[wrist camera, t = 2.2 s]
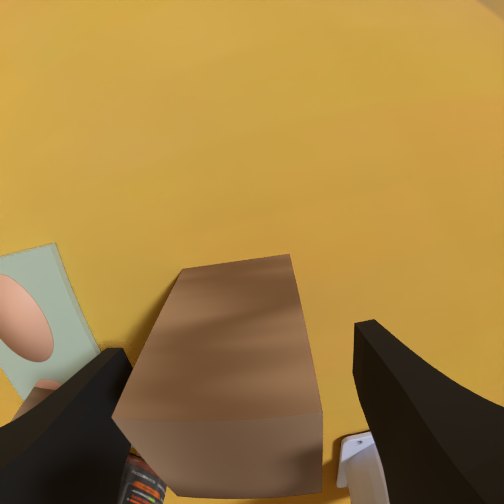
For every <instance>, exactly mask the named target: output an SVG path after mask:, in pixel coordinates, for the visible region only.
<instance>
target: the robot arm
mask: <svg viewBox="0 0 504 504" xmlns="http://www.w3.org/2000/svg"><path fill="white" fill-rule="evenodd" d="M132 370H133V368H132V366H131V364H130V362H129V360H128V358H127V356H126V354H125V352H124V350H123V348H107V349H105V350H104V351H102V352H101V353H100V354H98V355H97V356H96V357H95V358H93V359H92V360H91V361H90V362H89V363H87V364H86V365H85V366H84V367H83V368H81V369H80V370H79V371H78V372H77V373H76V374H74V375H73V376H72V377H71V378H70V379H69V380H67V381H66V382H65V383H64V384H63V385H61V386H60V387H59V388H58V389H56V390H55V391H54V392H53V393H51V394H50V395H49V396H48V397H46V398H45V399H44V400H43V401H41V402H40V403H39V404H37V405H36V406H35V407H33V408H32V409H30V410H29V411H28V412H26V413H24V414H23V415H21V416H20V417H18V418H17V419H15V420H13V421H12V422H10V423H8V424H6V425H4V426H2V427H0V504H117V502H118V495H119V489H120V482H121V477H122V473H123V469H124V466H125V463H126V460H127V457H128V453H129V450H130V447H131V443H130V442H129V440H128V439H127V438H126V437H125V435H124V434H123V433H122V431H121V430H120V429H119V427H118V426H117V425H116V423H115V422H114V420H113V419H112V418H111V417H112V415H113V413H114V410H115V408H116V406H117V403H118V401H119V399H120V397H121V394H122V392H123V390H124V388H125V386H126V383H127V381H128V379H129V377H130V375H131V372H132ZM353 376H354V381H355V385H356V389H357V393H358V397H359V401H360V404H361V407H362V409H363V412H364V415H365V418H366V420H367V423H368V426H369V429H370V432H366V433H361V434H357V435H352V436H348V437H345V438H344V439H343V440H342V441H341V450H340V459H339V467H338V475H337V482H336V484H337V487H338V488H344V487H348V489H349V494H350V500H351V504H504V407H502V406H500V405H497V404H495V403H493V402H491V401H489V400H487V399H485V398H483V397H481V396H479V395H477V394H475V393H473V392H472V391H470V390H468V389H466V388H465V387H463V386H461V385H459V384H458V383H456V382H455V381H453V380H451V379H450V378H448V377H447V376H445V375H444V374H443V373H441V372H440V371H438V370H437V369H435V368H434V367H432V366H431V365H430V364H428V363H427V362H426V361H424V360H423V359H422V358H421V357H419V356H418V355H417V354H415V353H414V352H413V351H412V350H410V349H409V348H408V347H407V346H405V345H404V344H403V343H402V342H401V341H399V340H398V339H397V338H396V337H395V336H394V335H392V334H391V333H390V332H389V331H388V330H386V329H385V328H384V327H383V326H382V325H381V324H379V323H378V322H377V321H376V320H374V319H373V320H368V321H363V322H358V323H354V354H353Z"/></svg>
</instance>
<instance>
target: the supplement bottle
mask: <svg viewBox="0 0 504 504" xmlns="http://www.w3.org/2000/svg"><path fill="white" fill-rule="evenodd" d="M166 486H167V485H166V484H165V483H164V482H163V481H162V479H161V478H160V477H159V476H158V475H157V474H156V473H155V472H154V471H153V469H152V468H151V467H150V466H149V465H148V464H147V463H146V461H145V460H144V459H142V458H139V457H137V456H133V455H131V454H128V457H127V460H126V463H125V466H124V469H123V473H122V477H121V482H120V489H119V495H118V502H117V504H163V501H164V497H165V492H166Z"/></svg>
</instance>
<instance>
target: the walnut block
mask: <svg viewBox="0 0 504 504" xmlns="http://www.w3.org/2000/svg"><path fill="white" fill-rule="evenodd" d="M111 418H112V419H113V420H114V422H115V423H116V425H117V426H118V427H119V429H120V430H121V431H122V433H123V434H124V435H125V437H126V438H127V439H128V440H129V442H130V443H131V444H132V446H133V447H134V448H135V449H136V451H137V452H138V453H139V454H140V455H141V457H142V458H143V459H144V460H145V461H146V463H147V464H148V465H149V466H150V467H151V468H152V469H153V471H154V472H155V473H156V474H157V475H158V476H159V477H160V478H161V479H162V481H163V482H164V483H165V484H166V485H167V486H168V487H169V488H170V489H171V490H172V491H173V492H174V493H175V494H176V495H177V496H181V497H193V498H212V499H255V498H274V497H286V496H296V495H305V494H312V493H319V492H322V456H323V411H322V405H321V400H320V395H319V390H318V384H317V379H316V374H315V369H314V364H313V359H312V354H311V349H310V344H309V340H308V335H307V330H306V325H305V321H304V316H303V311H302V307H301V302H300V298H299V293H298V289H297V284H296V280H295V275H294V271H293V267H292V262H291V258H290V254H285V255H278V256H271V257H264V258H257V259H250V260H243V261H236V262H229V263H222V264H215V265H208V266H200V267H193V268H186V269H182V271H181V273H180V275H179V277H178V279H177V281H176V283H175V285H174V287H173V289H172V291H171V292H170V294H169V296H168V298H167V300H166V302H165V304H164V306H163V308H162V310H161V312H160V314H159V316H158V318H157V320H156V322H155V324H154V326H153V328H152V330H151V332H150V335H149V337H148V339H147V341H146V343H145V345H144V347H143V349H142V351H141V353H140V355H139V357H138V360H137V362H136V364H135V366H134V368H133V370H132V372H131V375H130V377H129V379H128V381H127V383H126V386H125V388H124V390H123V392H122V394H121V397H120V399H119V401H118V403H117V406H116V408H115V410H114V413H113V415H112V417H111Z"/></svg>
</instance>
